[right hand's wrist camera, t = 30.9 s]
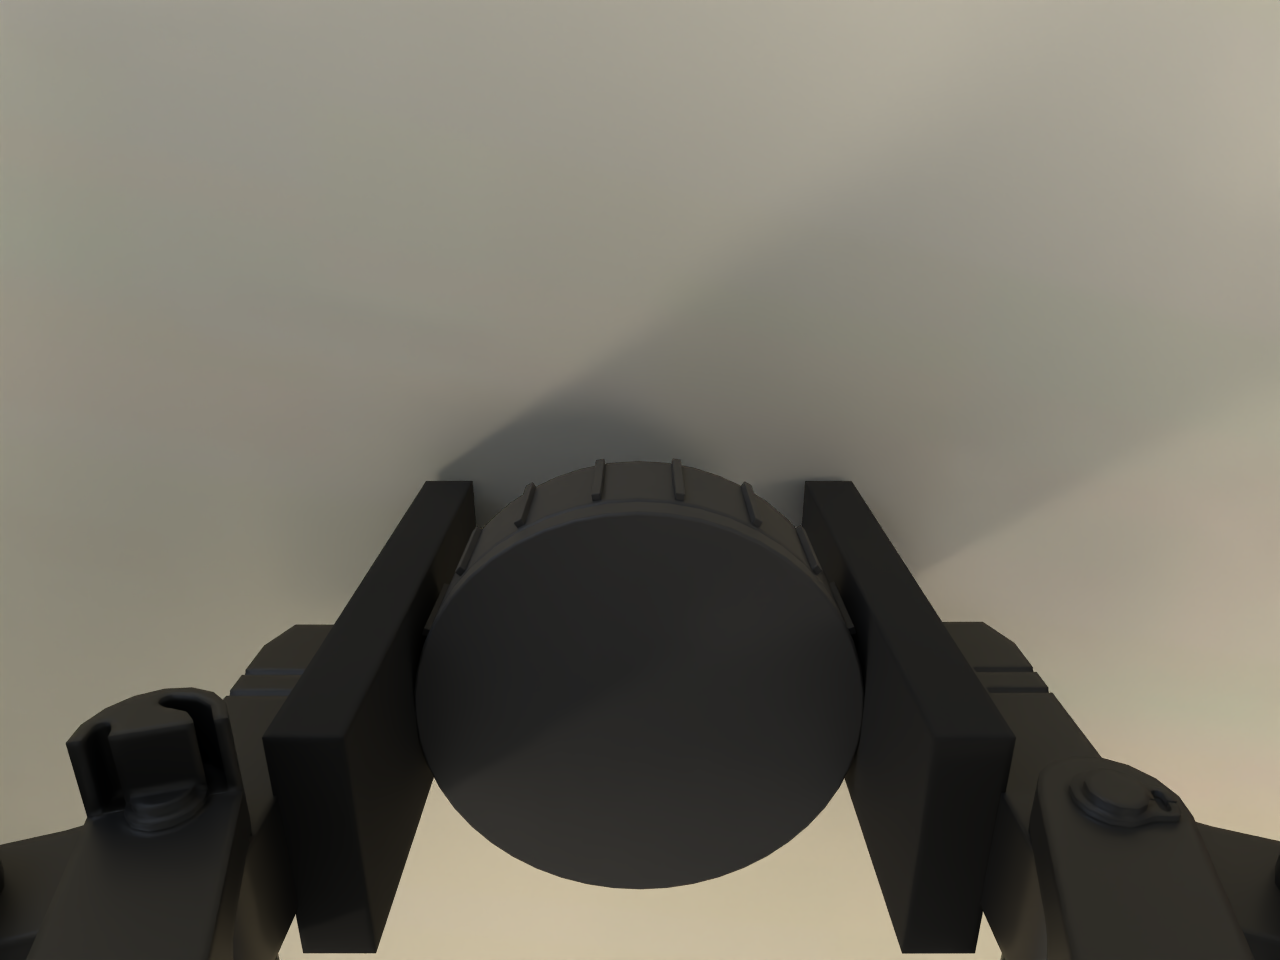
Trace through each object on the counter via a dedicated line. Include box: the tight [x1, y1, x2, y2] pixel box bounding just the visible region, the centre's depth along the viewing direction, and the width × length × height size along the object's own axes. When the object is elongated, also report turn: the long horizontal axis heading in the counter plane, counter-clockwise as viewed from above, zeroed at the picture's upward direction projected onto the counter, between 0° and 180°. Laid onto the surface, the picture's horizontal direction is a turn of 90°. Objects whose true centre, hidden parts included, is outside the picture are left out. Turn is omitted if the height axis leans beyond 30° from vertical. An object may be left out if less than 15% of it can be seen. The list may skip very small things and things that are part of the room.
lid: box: [414, 459, 865, 889], centre depth 11 cm, size 6×6×2 cm
